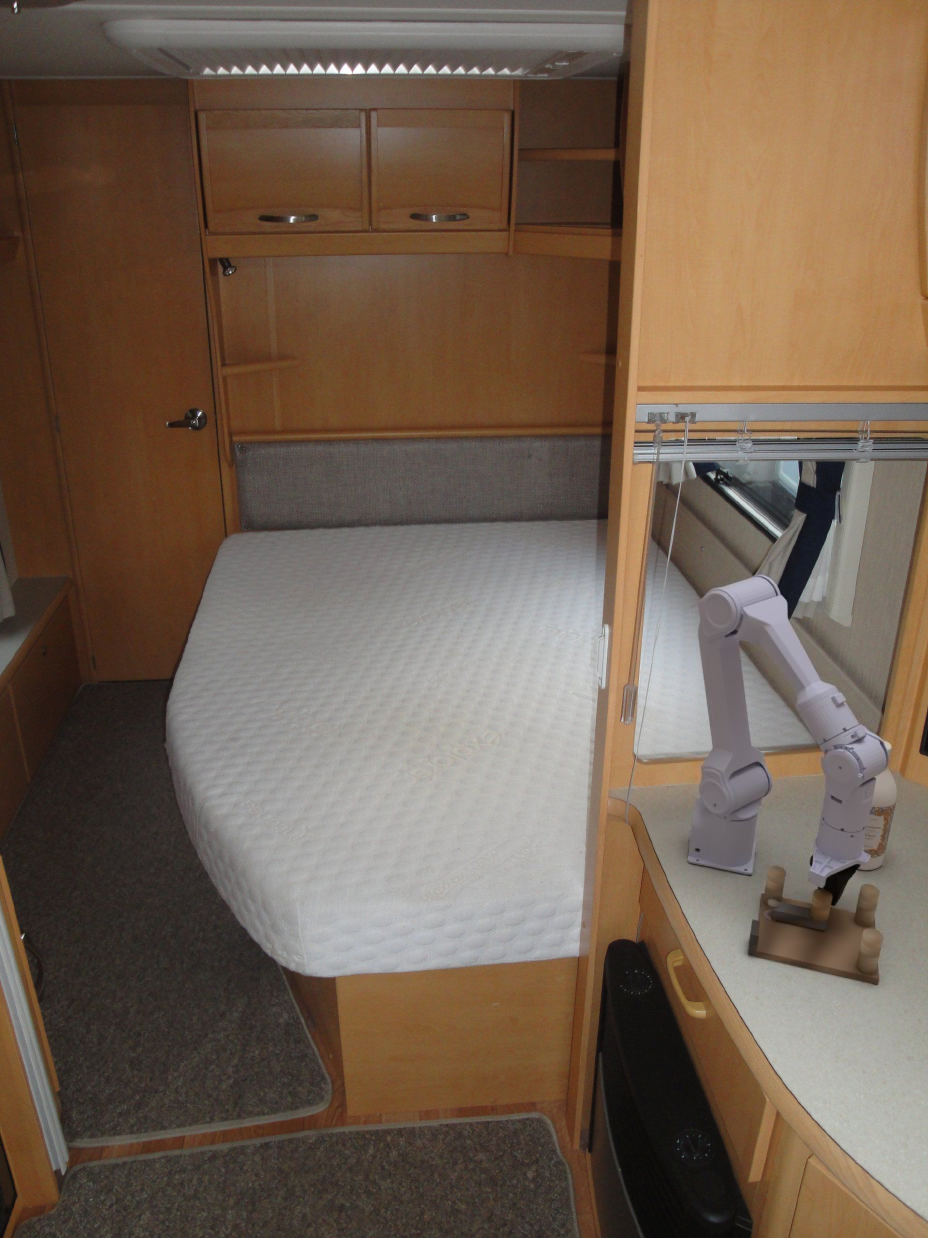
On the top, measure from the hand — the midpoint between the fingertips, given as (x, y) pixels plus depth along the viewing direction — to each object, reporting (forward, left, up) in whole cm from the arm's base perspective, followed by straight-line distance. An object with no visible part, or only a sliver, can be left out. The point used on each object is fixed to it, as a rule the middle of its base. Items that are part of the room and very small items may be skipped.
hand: (828, 901), depth 128 cm
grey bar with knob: (-4, -3, -2) cm, 5 cm away
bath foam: (+5, +16, -4) cm, 17 cm away
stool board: (-1, -4, -3) cm, 6 cm away
